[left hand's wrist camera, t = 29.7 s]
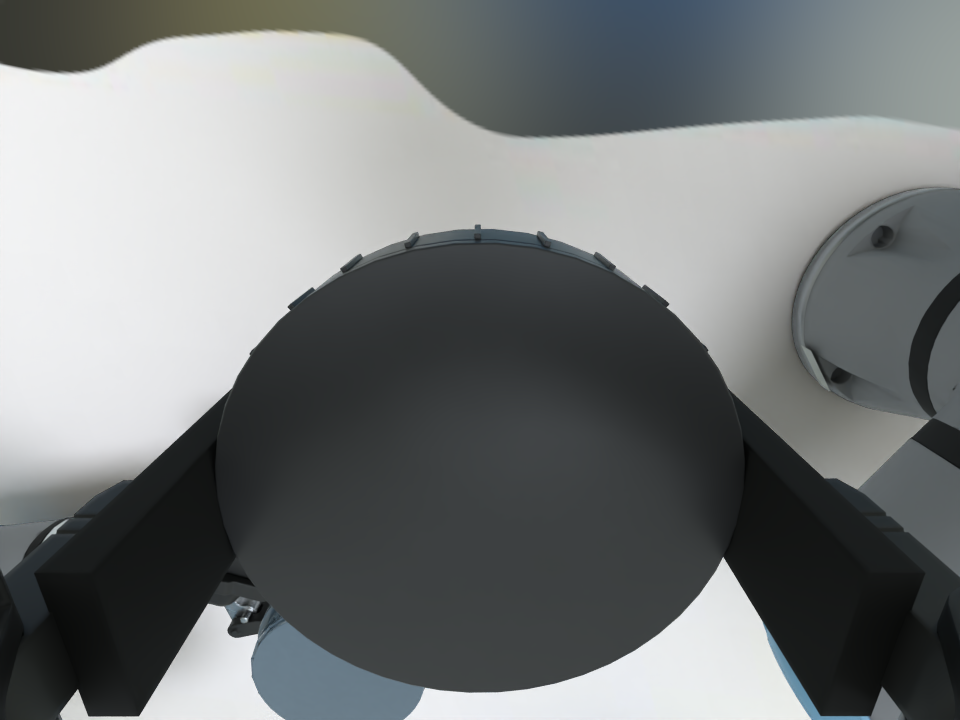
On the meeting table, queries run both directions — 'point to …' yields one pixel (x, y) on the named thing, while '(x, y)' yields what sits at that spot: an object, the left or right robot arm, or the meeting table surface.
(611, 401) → the lid
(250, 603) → the right robot arm
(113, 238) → the meeting table surface
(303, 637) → the jar
